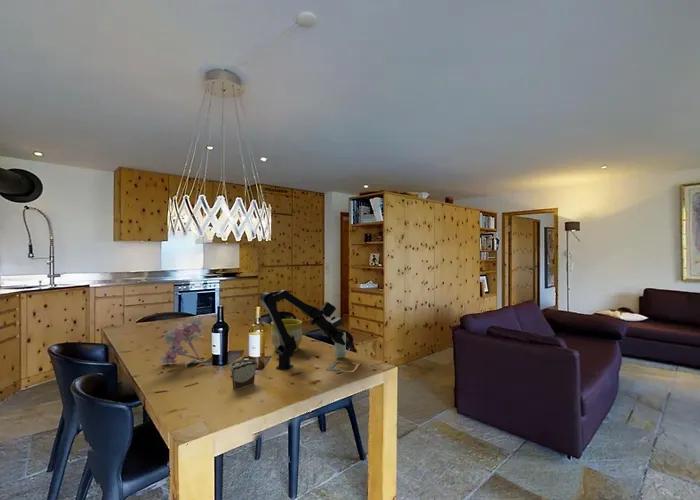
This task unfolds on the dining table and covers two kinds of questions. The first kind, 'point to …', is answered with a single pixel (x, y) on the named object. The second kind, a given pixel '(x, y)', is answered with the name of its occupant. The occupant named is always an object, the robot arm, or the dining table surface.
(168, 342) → the flower
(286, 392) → the dining table surface
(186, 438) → the dining table surface
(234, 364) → the food container
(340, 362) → the dot frame
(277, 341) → the flowerpot
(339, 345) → the sage cup
